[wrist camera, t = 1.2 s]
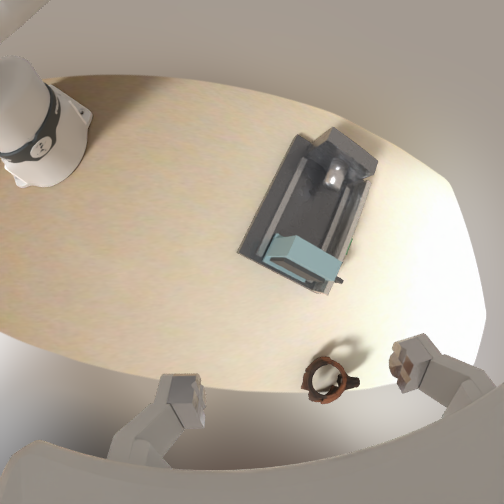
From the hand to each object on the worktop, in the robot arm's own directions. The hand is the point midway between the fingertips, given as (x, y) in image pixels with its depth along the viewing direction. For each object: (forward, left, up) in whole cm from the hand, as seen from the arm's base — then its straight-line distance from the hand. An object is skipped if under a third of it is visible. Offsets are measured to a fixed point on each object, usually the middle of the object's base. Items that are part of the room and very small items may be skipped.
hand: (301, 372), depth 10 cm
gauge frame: (+3, +21, -35) cm, 41 cm away
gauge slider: (+8, +13, -33) cm, 37 cm away
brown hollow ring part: (+29, +2, -35) cm, 46 cm away
